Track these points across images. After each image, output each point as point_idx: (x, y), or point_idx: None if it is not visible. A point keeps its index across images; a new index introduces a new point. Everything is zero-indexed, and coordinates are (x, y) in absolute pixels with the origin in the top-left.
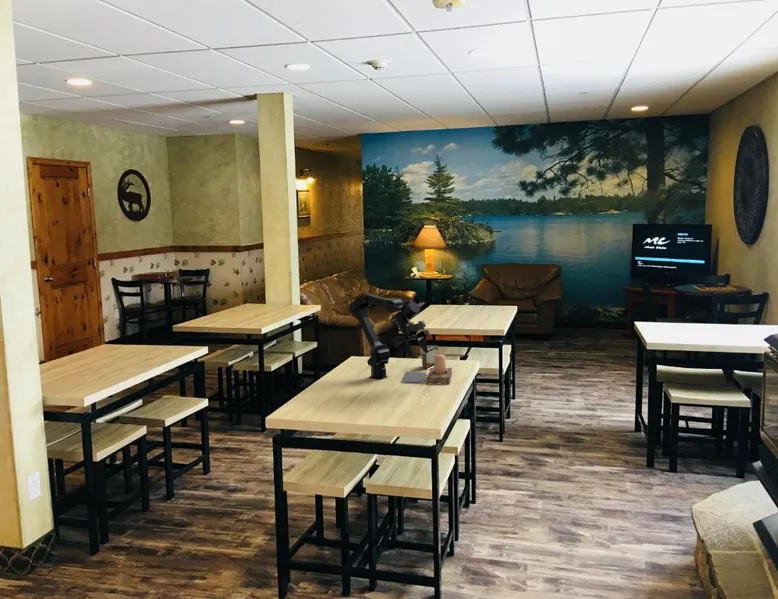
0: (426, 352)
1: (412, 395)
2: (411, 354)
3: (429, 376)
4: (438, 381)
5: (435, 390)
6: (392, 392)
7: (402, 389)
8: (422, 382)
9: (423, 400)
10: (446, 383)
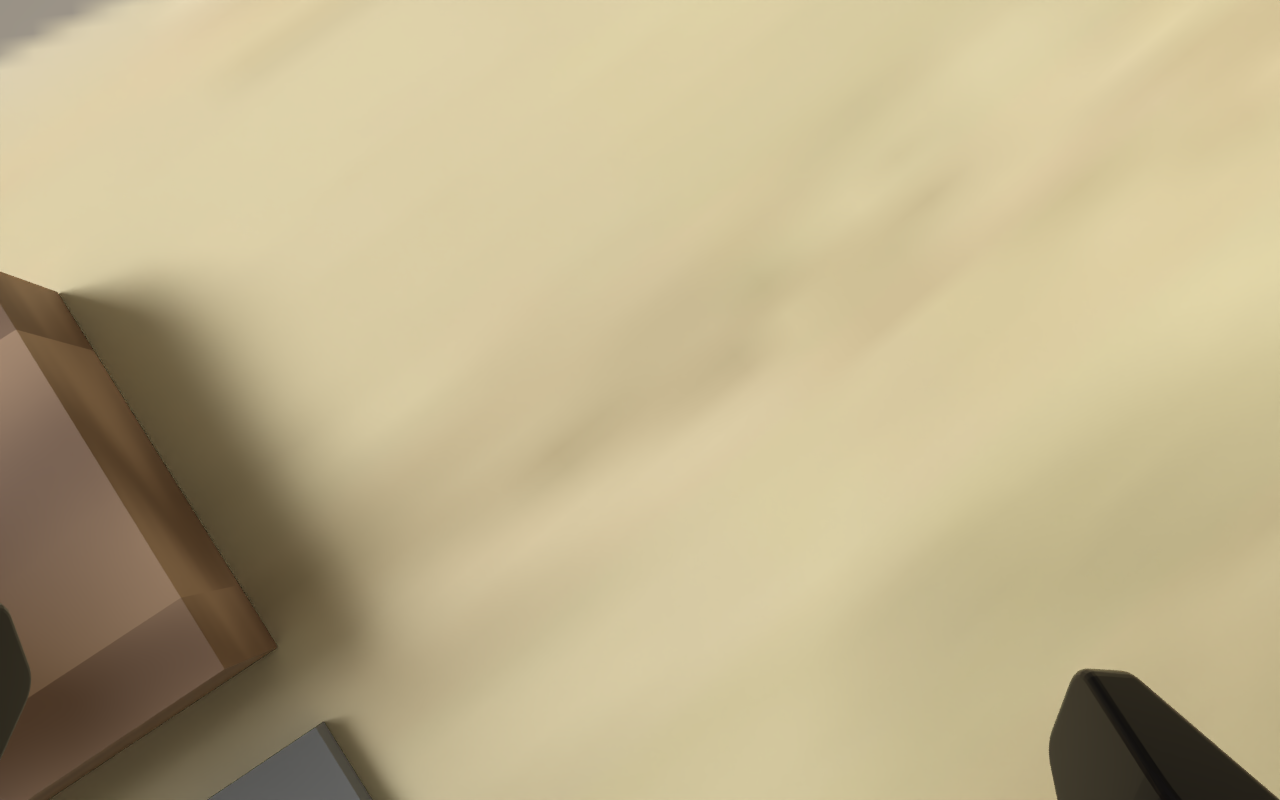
0: (4, 661)
1: (1075, 352)
2: (1188, 775)
3: (154, 667)
4: (145, 465)
5: (567, 234)
6: None
7: (899, 760)
8: (323, 736)
9: (1173, 20)
10: (84, 340)
